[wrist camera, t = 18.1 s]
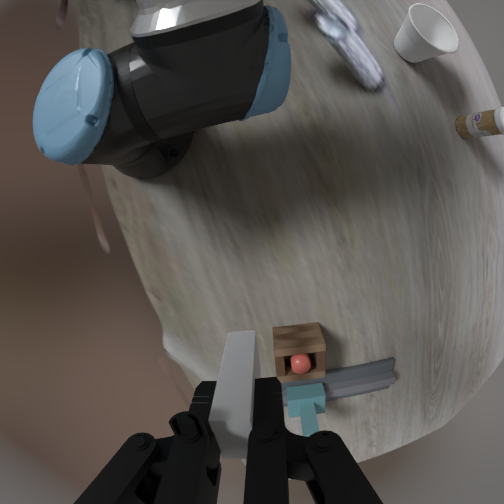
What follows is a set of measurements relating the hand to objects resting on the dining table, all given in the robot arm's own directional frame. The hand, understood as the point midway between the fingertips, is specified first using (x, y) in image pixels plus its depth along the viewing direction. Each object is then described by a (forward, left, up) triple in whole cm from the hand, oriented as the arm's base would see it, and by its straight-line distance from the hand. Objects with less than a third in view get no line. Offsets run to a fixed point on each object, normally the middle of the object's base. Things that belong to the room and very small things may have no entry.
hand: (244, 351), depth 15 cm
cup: (+32, +33, -30) cm, 55 cm away
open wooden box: (+5, -19, -29) cm, 35 cm away
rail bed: (+13, -31, -29) cm, 45 cm away
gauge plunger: (+5, -19, -26) cm, 33 cm away
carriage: (+6, -31, -28) cm, 42 cm away
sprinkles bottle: (+42, +18, -30) cm, 54 cm away
